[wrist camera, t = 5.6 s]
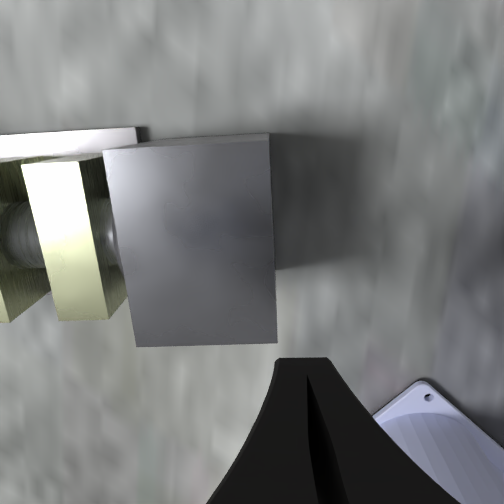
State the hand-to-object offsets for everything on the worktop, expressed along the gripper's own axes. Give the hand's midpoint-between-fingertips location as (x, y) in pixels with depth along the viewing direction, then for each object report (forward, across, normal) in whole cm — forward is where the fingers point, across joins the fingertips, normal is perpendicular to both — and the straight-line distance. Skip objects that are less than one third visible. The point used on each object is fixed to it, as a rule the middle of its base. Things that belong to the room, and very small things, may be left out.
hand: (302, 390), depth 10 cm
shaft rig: (+11, +7, -2) cm, 13 cm away
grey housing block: (+10, +3, -2) cm, 11 cm away
